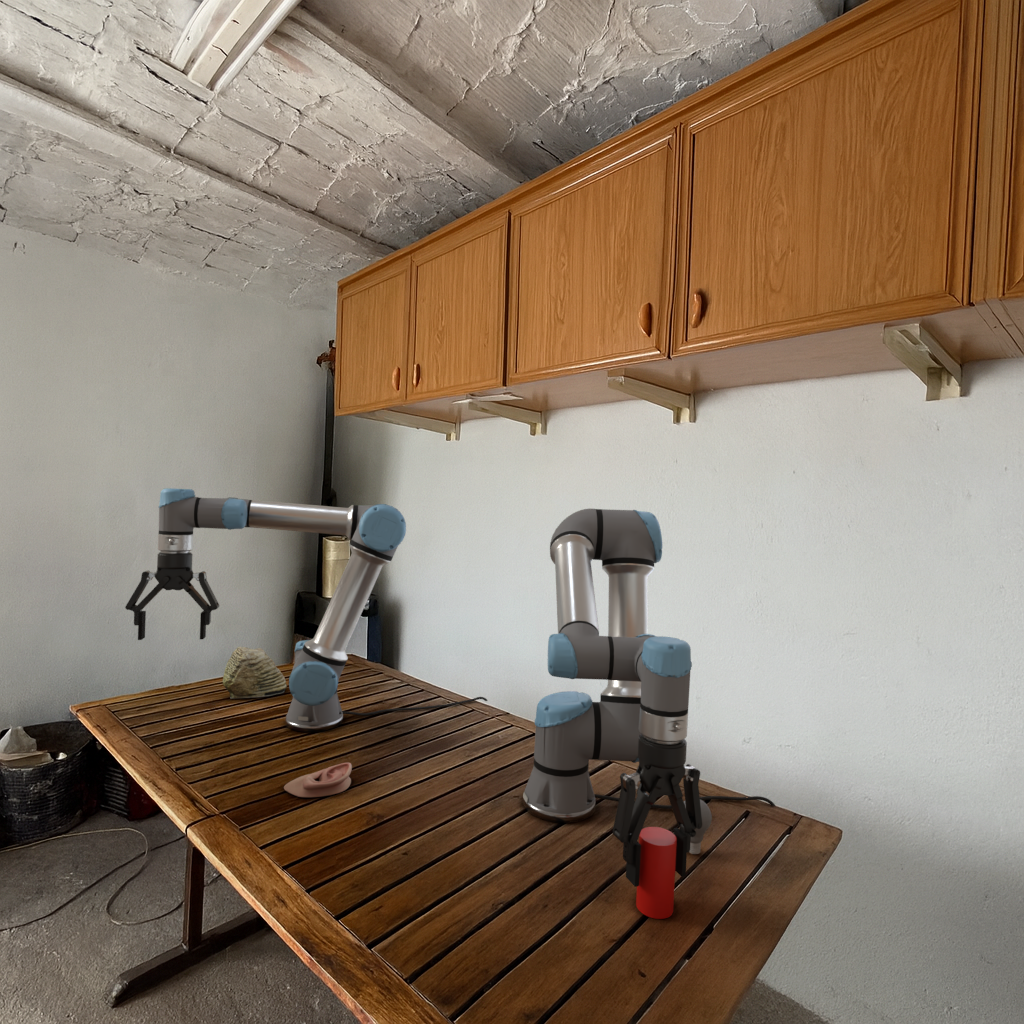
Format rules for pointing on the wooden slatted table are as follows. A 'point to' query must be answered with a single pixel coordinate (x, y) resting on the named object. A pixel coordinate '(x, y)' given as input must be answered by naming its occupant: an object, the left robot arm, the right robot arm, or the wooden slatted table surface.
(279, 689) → the fossil
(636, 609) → the right robot arm
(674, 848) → the red cylinder
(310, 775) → the anatomical model
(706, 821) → the light bulb
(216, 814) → the wooden slatted table surface
